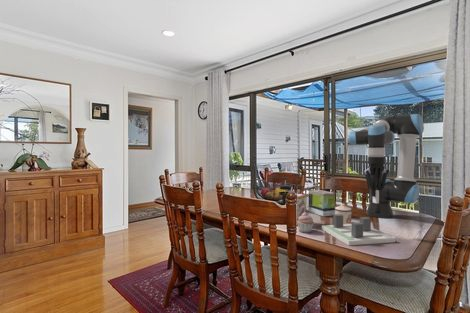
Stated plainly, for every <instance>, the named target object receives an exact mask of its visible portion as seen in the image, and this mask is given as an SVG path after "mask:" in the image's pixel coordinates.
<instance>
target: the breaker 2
mask: <svg viewBox="0 0 470 313" xmlns="http://www.w3.org/2000/svg"><path fill="white" fill-rule="evenodd" d="M351 224H352V228H351V235H352V236H354V237H363V224H362V223H360V221H359V222H358V221H357V222H351Z"/></svg>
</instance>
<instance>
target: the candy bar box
mask: <svg viewBox="0 0 470 313" xmlns="http://www.w3.org/2000/svg"><path fill="white" fill-rule="evenodd" d="M296 195H297V220H298V218H299V217H300V216H301V215H302V214H303V213H305V212H306V213H307V198H308V196H307V194H304V193H303V194H302V193H297V194H296Z"/></svg>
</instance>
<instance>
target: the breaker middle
mask: <svg viewBox="0 0 470 313" xmlns="http://www.w3.org/2000/svg"><path fill="white" fill-rule="evenodd" d="M359 222H360V223H362V224H363V231H370V230H371V226H372V219H371V217H368V216H363V217H362V216H361V217H359Z"/></svg>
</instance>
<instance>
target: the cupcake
mask: <svg viewBox="0 0 470 313" xmlns="http://www.w3.org/2000/svg"><path fill="white" fill-rule="evenodd" d="M314 225H315V222H314V219H313V218H312V216H311V215H310V214H308V213H307V211H306V212H305V213H303V214H302V215H301V216H300V217H299V218H298V220H297V225H296V226H297V227H298V231H299V232H301V233H307V234H308V233H311V232H312V231H313V226H314Z"/></svg>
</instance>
